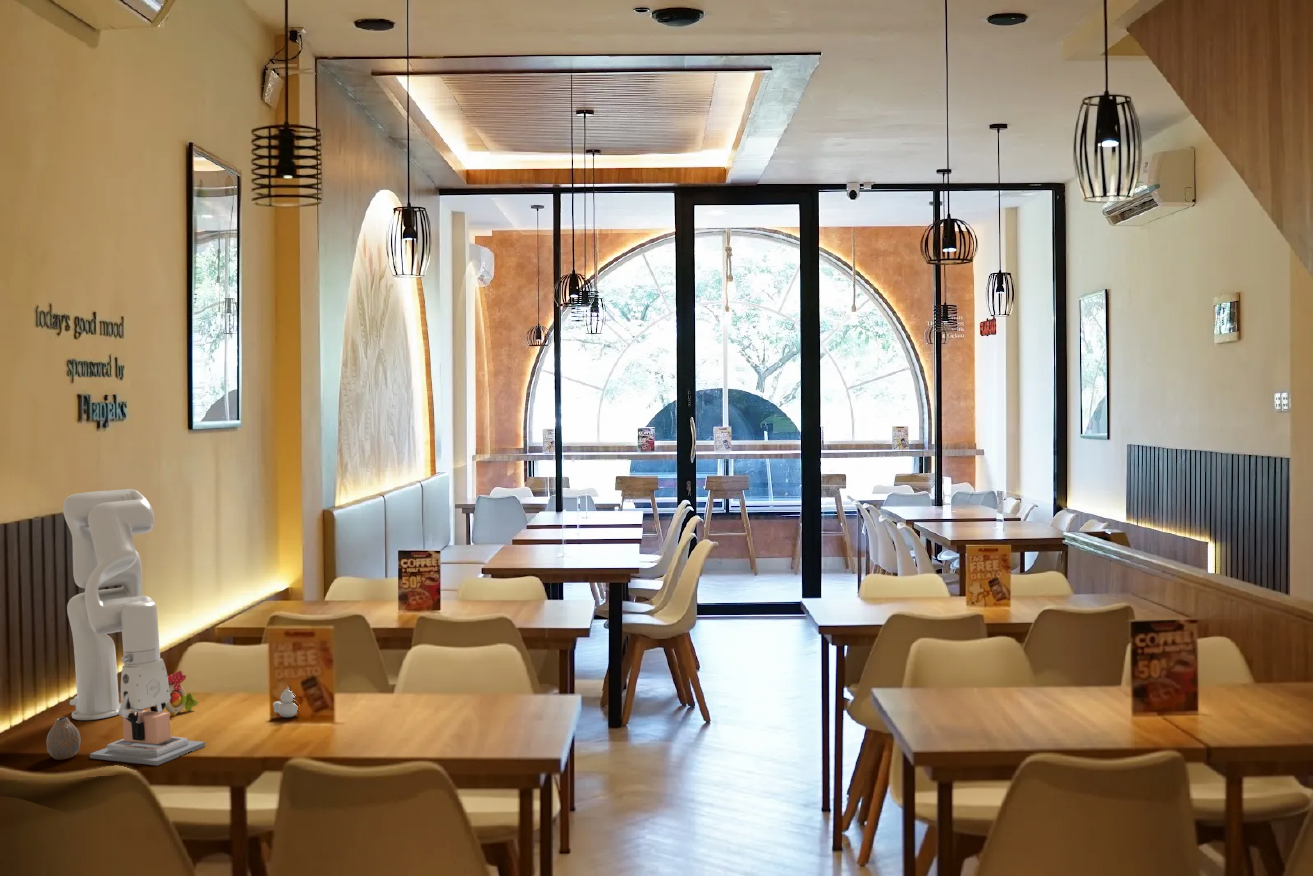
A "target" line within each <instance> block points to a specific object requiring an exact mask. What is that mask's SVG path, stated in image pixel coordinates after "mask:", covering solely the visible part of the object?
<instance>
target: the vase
mask: <svg viewBox="0 0 1313 876" xmlns="http://www.w3.org/2000/svg"><path fill="white" fill-rule="evenodd" d="M47 733H48V734H47V735H46V750H47V753H48V754H49V755H50V756H51V757H52V758H53V759H54V760H56V761H57V760H58V761H59V760H67V759H71V758H73V757H75V756H76V754H78V752H79V751H80V748H81V743H82V742H81V739H82V738H81V734H80V731H79V729H78V727H76V726H75V725H74V724H73V722H71V721H70V719H69V717H67V716H66V717H65V716H64V717H59V718H57V719H55V722H54V724H53V725H52V727H51V728H50V730H49V732H47ZM74 755H75V756H74Z"/></svg>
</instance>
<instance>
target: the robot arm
mask: <svg viewBox="0 0 1313 876" xmlns="http://www.w3.org/2000/svg"><path fill="white" fill-rule="evenodd" d="M62 513H63V516H64V520H65V522H66V524H67V527H68V529H69V531H70V534H71V539H72V572H73V573H72V574H73V575H72V576H73V579H74V583H75V584H76V586H78V587H79V588H80V589H84V592H81V593H78V594H76V595H74V596H72V597H71V598H70V599H69V601H68V602H67V605H66V610H67V611H66V612H67V617H68V621H69V625H70V629H71V634H72V642H73V652H74V665H75V667H74V669H75V670H74V671H75V681H76V695H75V696H74V697H73V699H70V700H69V705H70V706H75V710H73V711H72V713H71V718H72V719H74V720H77V721H93V720H100V719H105V718H106V719H107V718H111V717H115V716H117V715H119V716H121V717H122V716H123V717H125V718H126V719H127V720H128V721H129V723H131V724H132V738H133V740H140V741H142V740H145V732H144V722H142V711H143V710H144V711H145V710H147V709H148V711H155V712H164V710H165V706H166V704H167V703H168V701H169V700H170V699H171V696H170V695H169V685H170V684H169V682H168V677H167V676H168V672H167V668H166V664H165V662H164V660H163V659H164V658H161V651H160V650H161V649H160V637H159V636H160V635H159V619H158V607H157V603H156V602H155V601H154V600H153V599H152V598H151V597H150V596H147V595H143V565H142V564H143V563H142V559H141V556H140V553H139V552H138V551H137V550H136V547H135V544H134V539H133V535H140V534H147V533H150V532H152V530H153V529H154V527H155V521H156V520H155V513H154V510H153V507H152V505H151V503H150V502H149V500H148V499H147V498H146V497H145V496H144V495H143V494H142V493H141V492H140V491H138V490H136V489H133V488H126V489H111V490H98V491H88V492H87V491H86V492H79V493H73V494H71V495H68V496H67V497H65V499H64V501H63V503H62ZM114 586H121V587H116V588H109V589H108V588H106V589H100V588H105V587H114ZM120 632H121V636H122V637H121V639H122V651H123V656H121V658H120V660H121V662H122V663H123V666H122V668H121V676H120V696H119V682H118V669H117V668H118V667H117V656H116V655H117V653H116V651H117V650H116V644H115V642H114V640H113V638H112V637H111V636H110V635H108V634H114V633H120ZM119 697H120V698H119ZM119 700H120V701H121V702H120V701H119ZM135 712H136V715H135Z"/></svg>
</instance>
